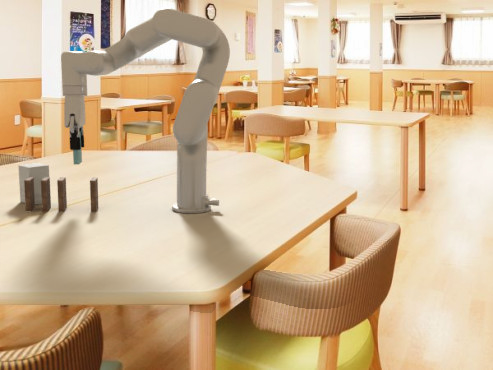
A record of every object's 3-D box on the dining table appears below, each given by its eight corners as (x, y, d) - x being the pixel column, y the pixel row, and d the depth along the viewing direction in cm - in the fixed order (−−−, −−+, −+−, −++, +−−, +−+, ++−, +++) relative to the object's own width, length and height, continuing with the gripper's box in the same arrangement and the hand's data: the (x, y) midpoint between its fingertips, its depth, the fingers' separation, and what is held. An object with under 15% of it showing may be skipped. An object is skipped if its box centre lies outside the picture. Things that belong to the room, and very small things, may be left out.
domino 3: (66, 207, 195) (65, 177, 193) (63, 211, 190) (62, 180, 188) (61, 207, 194) (60, 177, 192) (58, 211, 190) (57, 180, 188)
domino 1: (35, 207, 194) (33, 177, 192) (31, 211, 189) (29, 180, 187) (29, 207, 193) (28, 177, 191) (25, 211, 189) (24, 180, 187)
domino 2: (51, 207, 194) (49, 177, 192) (47, 211, 189) (46, 180, 187) (45, 207, 194) (44, 177, 192) (42, 211, 189) (40, 180, 187)
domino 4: (81, 161, 197) (80, 131, 195) (78, 164, 192) (77, 133, 190) (76, 161, 197) (75, 131, 195) (73, 164, 192) (72, 133, 190)
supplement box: (51, 202, 201) (49, 165, 199) (30, 205, 196) (28, 167, 193) (40, 198, 206) (38, 162, 204) (19, 201, 201) (17, 164, 198)
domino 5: (98, 207, 196) (97, 177, 194) (96, 211, 191) (95, 180, 189) (93, 207, 195) (92, 177, 193) (90, 211, 191) (89, 180, 189)
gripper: (68, 89, 198) (71, 144, 202) (56, 92, 181) (59, 152, 185) (92, 90, 199) (94, 145, 202) (81, 92, 182) (83, 152, 186)
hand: (77, 147), depth 194 cm, fingers closed on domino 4, 4 cm apart
